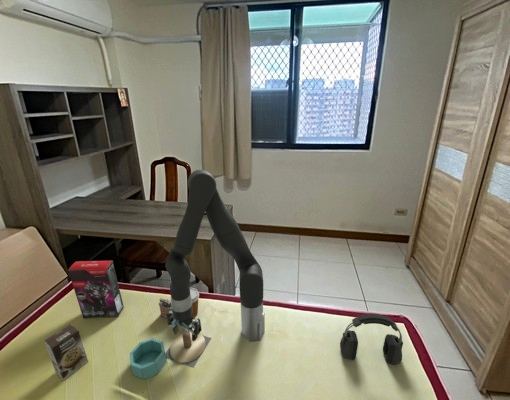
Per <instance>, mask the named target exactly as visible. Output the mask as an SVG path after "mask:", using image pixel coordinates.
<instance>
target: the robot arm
mask: <svg viewBox="0 0 510 400" xmlns="http://www.w3.org/2000/svg"><path fill="white" fill-rule="evenodd" d="M187 186H188V187H187V188H188V190H189V191H188V198H187V199H188V200H187V205H186V210H185V211H184V215H183V218H182V219H181V221H180V224H179V227H178V229H177V232H176V236H175V239H174V243H173V246H172V248H171V250H170V251H169V253H168V255H166V256H167V257H166V260H165V266H164V267H165V271H167V273H168V275H169V276H170V280H171V282H170V284H169V290H170V302H171V306H172V310H170V311H169V312H168V314H167V319H166V320H167V325H168V326H171V328H172V332H173V334H174V335H176V336H177V334H178V333H179V332H180V327H179V326H181V327H184V328H185V330H187V331H190V332H191V333H192V341H195V340H196V339H197V337H198V334H199V333H200V334H201V331H202V324H201V319H200V318H199V317H198V318H197V319H195V317H194V318H193V316H192V314H193V308H192V298H191V294H190V288H191V287H190V282H191V276H192V274H191V268H190V266H189V264H188V262H187V261H186V257H187V256H189V255H191V254H192V253H193V251H194V248H195V245H196V242H197V239H198V236H199V232H200V228H201V225H202V221H203V219H204V216H205V215H206V218H207V220H208V223H209V225H210V227H211V228H210V229H211V230H212V233H213V234H214V236H215V238H216V240H217V241H218V243H219V245H220V246H221V248H222V249H223V250H224V252H226V253H228V255H230V256H231V257H232V258H233V260H234V261H235V264H236V266H237V268H238V271H239V280H238V281H239V299H240V318H241V320H240V323H241V334H242V338H244V339H246V341H247V340H248V341H249V342H255V341H260V342H261V340H262V338H263V335H264V333H265V328H266V327H265V326H266V324H265V323H266V321H265V316H266V315H265V312H264V274H263V270H262V266H261V265H260V264H259V262H258V261H257V259H256V258H255V256H254V254H253V253H252V252H251V250H250V248H249V245H248V243H247V241H246V239H245V236H244V234H243V232H242V229H241V228H240V226H239V224H238V222H237V220H236V219H235V218H234V216H233V214H232V213H231V211H230V210H229V209H228V207H227V205H225V203H224V201H223V200H222V198H221V196H220V194H219V191H218V189H217V181H216V179H215V177H214V175H212V173H211V172H209V171H207V170H204V169H196V170H193V171H192V172H191V174H190V175H189V176H188V180H187ZM174 319H175V320H174Z"/></svg>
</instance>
